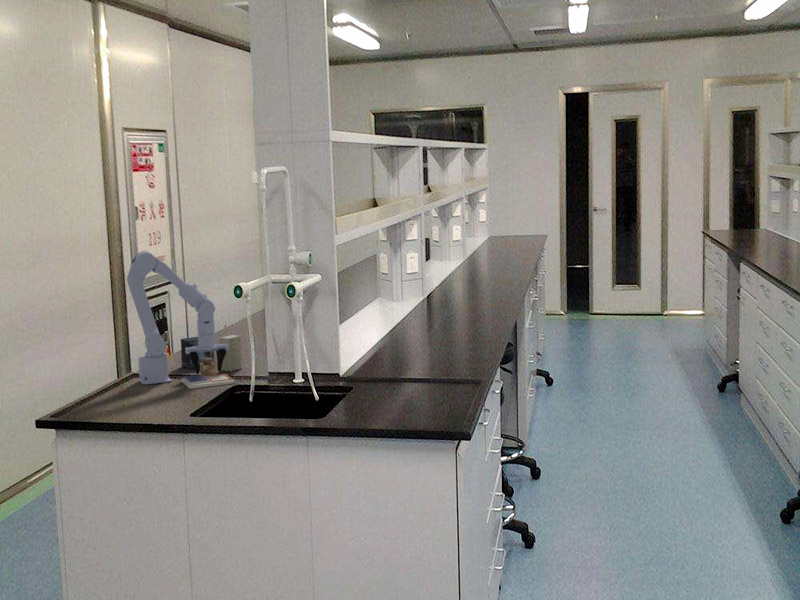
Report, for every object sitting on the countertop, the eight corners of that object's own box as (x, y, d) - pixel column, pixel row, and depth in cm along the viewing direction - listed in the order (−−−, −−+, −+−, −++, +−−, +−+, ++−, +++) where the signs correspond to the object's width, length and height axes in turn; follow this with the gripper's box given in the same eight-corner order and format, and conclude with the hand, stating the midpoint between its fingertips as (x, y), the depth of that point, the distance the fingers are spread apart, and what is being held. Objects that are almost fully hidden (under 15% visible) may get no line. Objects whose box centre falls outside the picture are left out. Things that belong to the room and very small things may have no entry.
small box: (189, 369, 309) (187, 341, 307) (181, 366, 314) (179, 338, 312) (215, 365, 315) (214, 337, 314) (207, 362, 320) (206, 335, 319)
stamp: (203, 378, 294) (202, 360, 293) (200, 376, 298) (199, 358, 297) (216, 377, 296) (215, 359, 295) (213, 374, 300) (212, 357, 299)
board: (189, 388, 279) (189, 382, 278) (181, 381, 289) (181, 375, 289) (234, 383, 285) (234, 377, 285) (225, 376, 296) (225, 370, 296)
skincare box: (234, 367, 311) (233, 334, 309) (242, 368, 308) (241, 335, 306) (220, 370, 306) (219, 337, 304) (228, 372, 303) (227, 338, 302)
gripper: (187, 337, 288) (189, 376, 290) (230, 333, 294) (231, 371, 296) (183, 334, 294) (185, 372, 296) (224, 330, 301) (226, 368, 303)
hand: (208, 372), depth 297 cm, fingers open, 7 cm apart
